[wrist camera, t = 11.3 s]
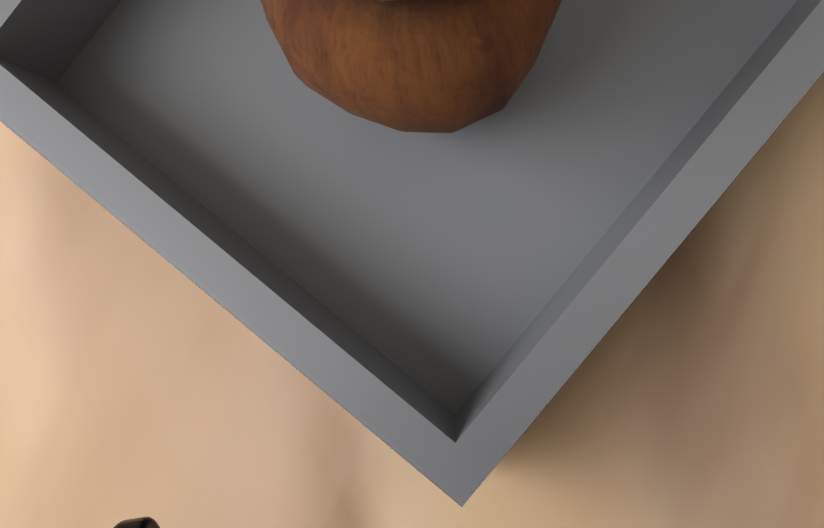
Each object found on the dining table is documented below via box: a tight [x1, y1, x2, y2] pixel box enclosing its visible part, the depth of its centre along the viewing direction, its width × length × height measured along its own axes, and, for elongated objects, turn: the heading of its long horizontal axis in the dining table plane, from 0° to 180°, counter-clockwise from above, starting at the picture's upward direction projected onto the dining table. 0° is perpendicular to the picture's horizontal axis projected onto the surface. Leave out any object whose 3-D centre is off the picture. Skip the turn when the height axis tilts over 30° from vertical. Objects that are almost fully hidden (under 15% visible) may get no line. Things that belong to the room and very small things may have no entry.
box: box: [0, 0, 824, 507], centre depth 18 cm, size 16×17×4 cm
